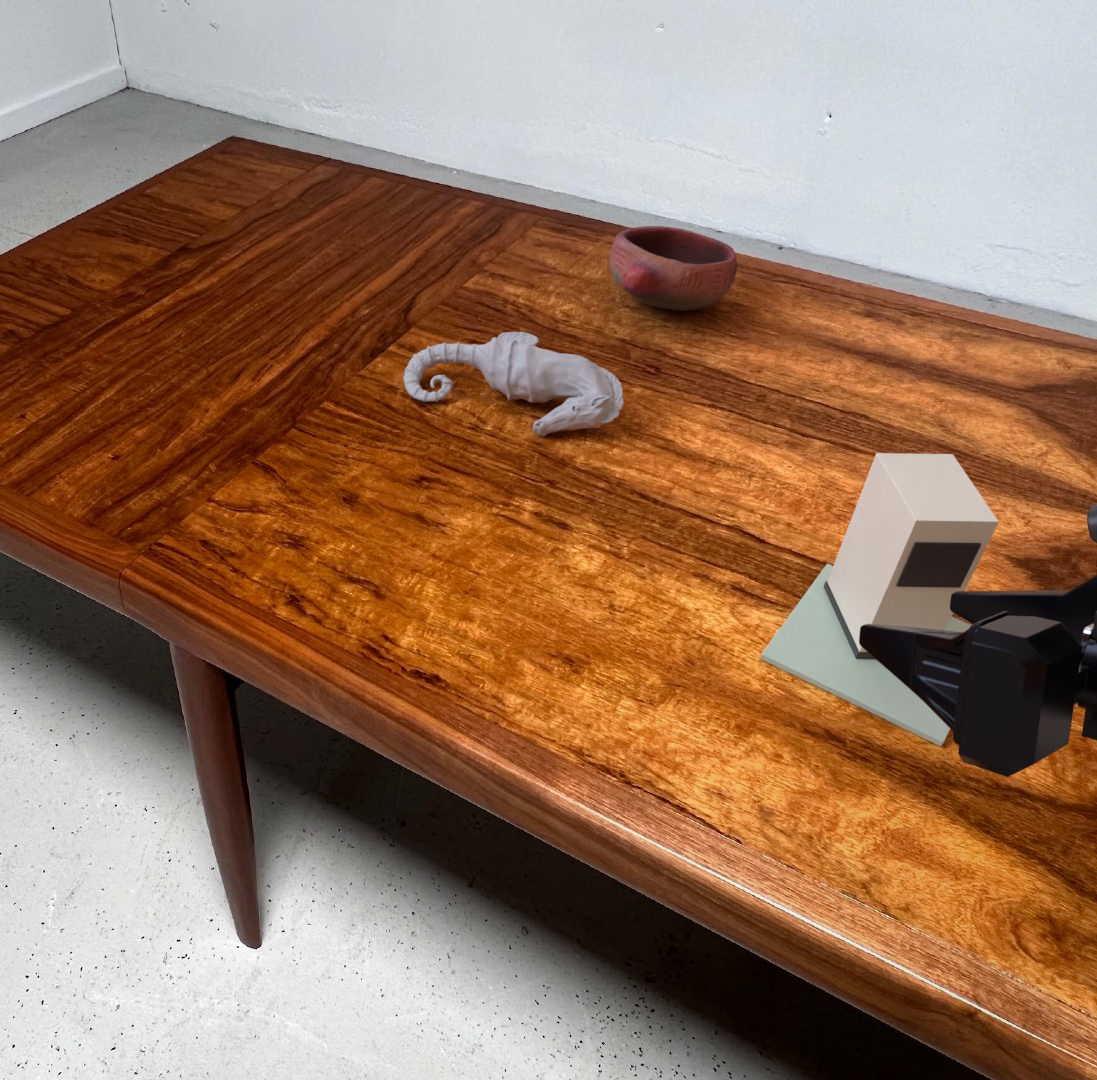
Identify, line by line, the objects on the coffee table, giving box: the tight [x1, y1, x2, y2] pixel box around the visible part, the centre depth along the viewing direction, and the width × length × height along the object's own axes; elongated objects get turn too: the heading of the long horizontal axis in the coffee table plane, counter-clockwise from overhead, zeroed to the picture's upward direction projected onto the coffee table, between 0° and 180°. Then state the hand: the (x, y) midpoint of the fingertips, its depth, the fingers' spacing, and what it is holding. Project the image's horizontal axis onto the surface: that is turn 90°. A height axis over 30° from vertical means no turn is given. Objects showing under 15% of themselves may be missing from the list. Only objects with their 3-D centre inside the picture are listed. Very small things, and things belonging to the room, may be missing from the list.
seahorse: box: [402, 331, 624, 437], centre depth 95 cm, size 5×12×20 cm
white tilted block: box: [824, 452, 1000, 659], centre depth 70 cm, size 5×7×12 cm
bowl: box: [609, 225, 738, 311], centre depth 107 cm, size 16×13×8 cm
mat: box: [759, 563, 973, 747], centre depth 73 cm, size 12×12×1 cm
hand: (908, 616), depth 56 cm, fingers open, 9 cm apart
